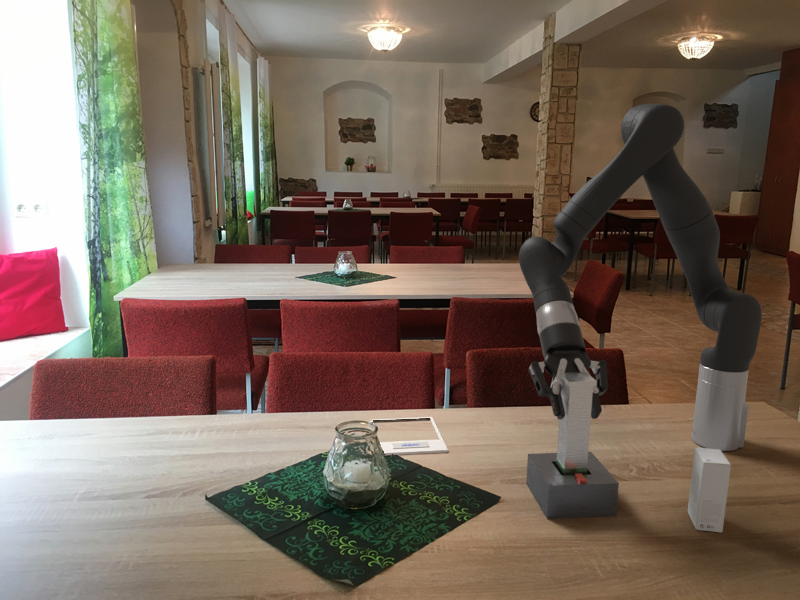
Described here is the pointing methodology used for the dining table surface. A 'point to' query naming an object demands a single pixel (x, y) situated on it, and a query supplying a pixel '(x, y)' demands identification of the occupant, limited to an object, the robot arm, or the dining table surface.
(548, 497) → the block
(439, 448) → the photo frame
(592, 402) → the robot arm
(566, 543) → the dining table surface
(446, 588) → the dining table surface
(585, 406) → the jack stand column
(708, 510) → the skincare box
